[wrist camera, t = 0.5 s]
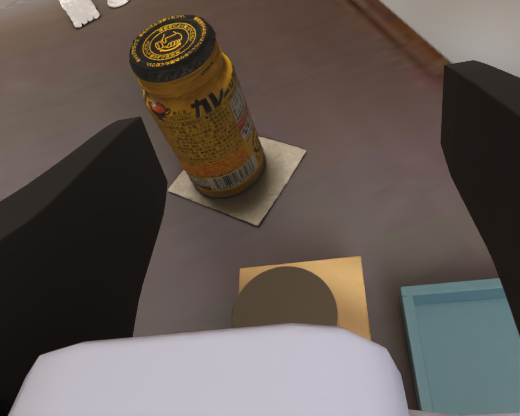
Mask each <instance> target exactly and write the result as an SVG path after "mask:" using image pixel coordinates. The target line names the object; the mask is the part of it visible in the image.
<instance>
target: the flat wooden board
mask: <svg viewBox="0 0 520 416" xmlns="http://www.w3.org/2000/svg"><path fill="white" fill-rule="evenodd" d="M282 266H292V267H299V268H303V269H306V270H308V271H310V272H312V273H314V274H316V275H317V276H319V277H320V278H321V279H322V280H323V281H324V282H325V283H326V284H327V285H328V287H329V288H330V290H331V291H332V293H333V296H334V298H335V301H336V304H337V308H338V313H339V323H340V327H342V328H344V329H347V330H349V331H351V332H353V333H355V334H357V335H360V336H362V337H364V338H366V339H368V340H370V341H372V340H371V333H370V325H369V317H368V309H367V301H366V292H365V284H364V276H363V269H362V262H361V257H360V256H355V257H345V258H336V259H326V260H316V261H307V262H297V263H288V264H278V265H269V266H259V267H249V268H241V269H240V274H239V294H240V292H241V291H242V289H243V288H244V287H245V286H246V284H247V283H248V282H249V281H251V280H252V279H253V278H254V277H256V276H257V275H259V274H260V273H262V272H264V271H267V270H269V269H272V268H276V267H282Z"/></svg>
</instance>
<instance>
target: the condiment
mask: <svg viewBox="0 0 520 416" xmlns="http://www.w3.org/2000/svg"><path fill="white" fill-rule="evenodd" d="M215 34H216V33H215V32H214V30H213V28H212V26H210V25H209V24H208V23H207V22H206V21H205V20H204V19H203V18H201V17H198V16H195V15H177V16H172V17H168V18H165V19H163V20H160V21H158V22H156V23H154V24H152V25H151V26H149V27H148V28H146V29H145V30H143V31H142V33H141V34H139V35H138V37H137V38H136V39H135V40H133V45H132V47H131V49H130V55H129V57H130V60H129V62H130V65H131V68H132V70H133V72H134V73H135V75H136V76H137V78H138V81H139V83H140V85H141V87H142V88H143V97H144V101H145V104H146V105H147V107H148V109H149V111H150V112H151V114H152V116H153V118H154V119H155V121H156V122H157V124H158V126H159V128H160V130H161V131H162V133H163V134H164V136H165V138H166V140H167V141H168V143H169V145H170V146H171V148H172V150H173V152H174V153H175V155H176V156H177V158H178V160H179V161H180V163H181V165H182V167H183V168H184V170H183V171H182V172H181V173H180V175H179V176H178V177H177V178H176V180H175V181H174V182H173V184H172V185H171V186H170V188H169V189H168V191H170V192H173V193H175V194H178V195H180V196H182V197H185V198H187V199H190V200H192V201H194V202H197V203H199V204H202V205H204V206H207V207H210V208H212V209H216V210H219V211H221V212H223V213H225V214H228V215H230V216H233V217H235V218H238V219H241V220H244V221H247V222H249V223H251V224H254V225H256V226H258V225H259V223H260V222H261V220H262V219H263V217H264V216H265V215H266V214H267V212H268V210H269V209H270V207H271V206H272V204H273V203H274V201H275V200H276V199H277V197H278V195H279V194H280V192H281V191H282V189H283V187H284V186H285V184H286V183H288V180H289V178H290V176H291V175H292V173H293V171H294V170H295V168H296V167H297V166H298V164H299V162H300V160H301V159H302V157H303V155H304V154H305V152H306V150H304V149H300V148H298V147H294V146H290V145H287V144H285V143H280V142H277V141H274V140H270V139H267V138H263V137H258V133H257V131H256V129H255V126H254V123H253V121H252V118H251V115H250V112H249V108H248V107H247V104H246V101H245V97H244V95H243V93H242V89H241V87H240V83H239V81H238V79H237V76H236V73H235V69H234V66H233V64H232V62H231V61H230V60H229V58H228V57H227V56H226V55H225V54H224V53H222V50H221V47H220V45H219V44H218V42H217V40H216V37H215Z"/></svg>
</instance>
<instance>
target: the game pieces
mask: <svg viewBox="0 0 520 416" xmlns="http://www.w3.org/2000/svg"><path fill="white" fill-rule="evenodd" d="M128 1H129V0H107V3H108V5H109V6H110V7H119V6H122V5H124V4H126V3H127V2H128ZM60 4H61V5H62V7H63V9H64V10H65V11H66V12H67V14H68V15H69V17H70V18H71V20H72V22H73V24H74V26H75V27H82V24H81V23H83V25H84V24H86V23H88V22H87V20H88V21H89V22H90V21H91V20H93V18H92V17H94V19H97V18H98V17H99V15H100V14H99V12H98V11H97V9H96V8H95V6H94V4H93V2H92V1H91V0H60Z"/></svg>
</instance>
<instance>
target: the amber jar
mask: <svg viewBox="0 0 520 416" xmlns="http://www.w3.org/2000/svg"><path fill="white" fill-rule="evenodd" d="M287 323H299V324H313V325H327V326H340V323H339V313H338V308H337V304H336V301H335V298H334V296H333V293H332V291H331V290H330V288H329V287H328V285H327V284H326V283H325V282H324V281H323V280H322V279H321V278H320V277H319V276H317V275H316V274H314V273H312V272H310V271H308V270H306V269H303V268H299V267H292V266H282V267H276V268H272V269H269V270H267V271H264V272H262V273H260V274H259V275H257V276H256V277H254V278H253V279H252V280H251V281H249V282H248V283H247V284H246V286H245V287H244V288H243V289H242V291H241V292H240V294H239V295H238V297H237V299H236V302H235V305H234V308H233V312H232V328H242V327H253V326H265V325H276V324H287Z"/></svg>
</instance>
